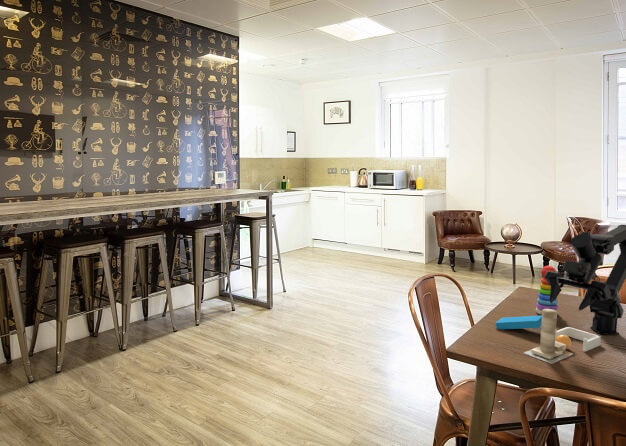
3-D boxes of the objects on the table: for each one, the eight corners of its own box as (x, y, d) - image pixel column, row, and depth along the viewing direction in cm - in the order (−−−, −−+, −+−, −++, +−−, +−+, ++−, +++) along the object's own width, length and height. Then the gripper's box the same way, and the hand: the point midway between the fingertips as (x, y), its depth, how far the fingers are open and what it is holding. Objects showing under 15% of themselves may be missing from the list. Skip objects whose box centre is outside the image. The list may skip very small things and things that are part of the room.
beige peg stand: (548, 345, 154) (551, 305, 152) (567, 351, 149) (570, 310, 147) (531, 352, 149) (533, 310, 147) (549, 359, 144) (552, 315, 142)
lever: (499, 342, 170) (554, 341, 159) (495, 322, 171) (549, 320, 159) (506, 336, 176) (559, 334, 164) (502, 317, 176) (554, 314, 164)
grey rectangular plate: (545, 345, 156) (545, 344, 156) (573, 354, 148) (573, 353, 148) (523, 353, 149) (523, 352, 149) (551, 364, 142) (551, 363, 142)
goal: (567, 335, 164) (568, 323, 164) (600, 345, 156) (601, 333, 155) (552, 340, 159) (553, 329, 159) (585, 351, 150) (586, 339, 150)
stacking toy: (559, 312, 188) (562, 265, 185) (556, 318, 181) (560, 269, 178) (537, 308, 192) (540, 262, 189) (533, 314, 185) (537, 266, 182)
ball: (566, 345, 155) (567, 332, 155) (573, 351, 151) (574, 337, 150) (552, 345, 155) (553, 332, 155) (559, 351, 151) (560, 337, 150)
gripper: (550, 246, 159) (527, 283, 154) (610, 256, 144) (587, 298, 139) (561, 267, 164) (540, 303, 160) (620, 279, 149) (598, 319, 144)
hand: (564, 305), depth 151 cm, fingers open, 9 cm apart
